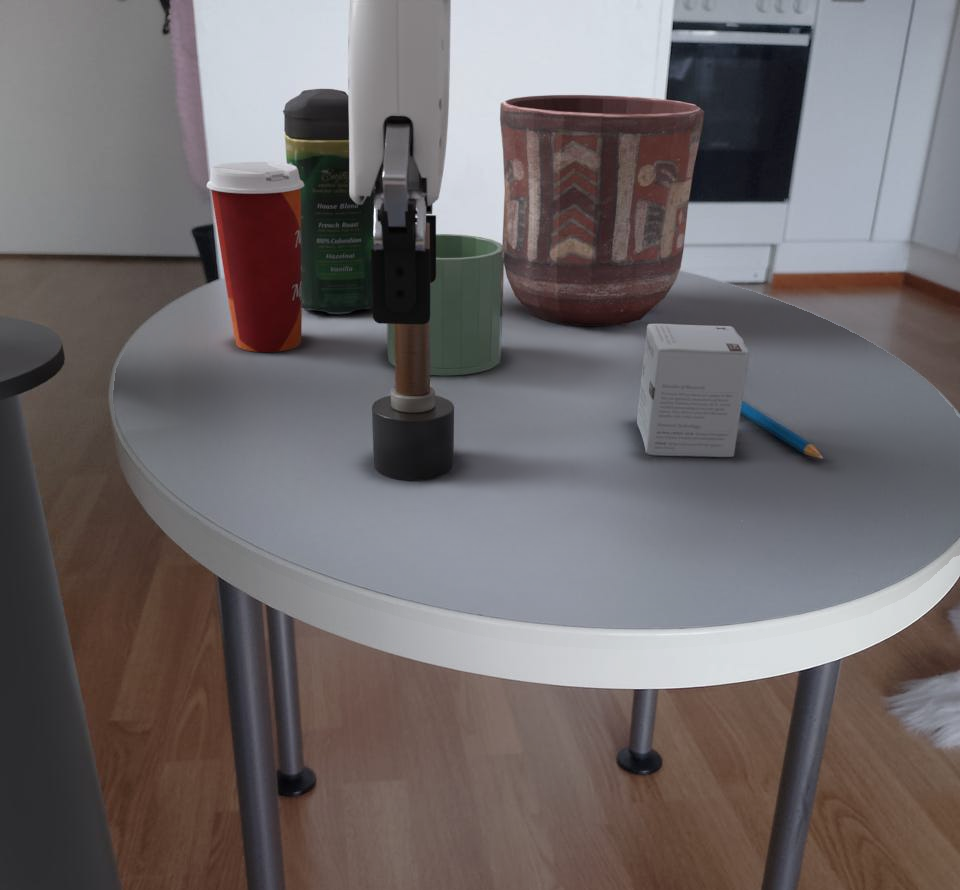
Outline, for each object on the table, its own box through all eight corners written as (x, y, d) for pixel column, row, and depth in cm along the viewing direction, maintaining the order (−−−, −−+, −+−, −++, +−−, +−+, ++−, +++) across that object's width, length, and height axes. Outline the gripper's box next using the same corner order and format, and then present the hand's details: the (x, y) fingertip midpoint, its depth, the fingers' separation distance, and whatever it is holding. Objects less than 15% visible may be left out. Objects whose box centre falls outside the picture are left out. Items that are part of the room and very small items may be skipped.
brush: (393, 486, 68) (387, 234, 60) (361, 457, 72) (352, 218, 64) (467, 472, 70) (470, 228, 62) (433, 445, 74) (432, 212, 66)
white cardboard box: (635, 425, 78) (645, 321, 74) (719, 426, 78) (734, 323, 74) (645, 457, 73) (657, 347, 69) (736, 458, 73) (752, 349, 69)
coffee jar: (383, 315, 102) (378, 94, 92) (298, 318, 100) (283, 94, 91) (371, 290, 110) (365, 84, 100) (292, 292, 108) (278, 84, 99)
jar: (415, 381, 85) (414, 263, 81) (370, 349, 92) (366, 239, 88) (520, 367, 89) (525, 253, 84) (469, 337, 96) (470, 230, 92)
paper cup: (331, 344, 93) (322, 169, 86) (255, 361, 89) (239, 178, 82) (279, 325, 98) (267, 157, 91) (205, 340, 94) (185, 165, 86)
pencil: (702, 383, 86) (703, 374, 85) (827, 462, 72) (829, 453, 72) (693, 384, 86) (694, 375, 85) (817, 464, 72) (819, 454, 72)
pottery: (509, 338, 96) (517, 113, 87) (483, 289, 111) (487, 93, 101) (703, 335, 98) (731, 115, 89) (652, 288, 113) (671, 95, 104)
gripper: (346, -35, 64) (357, 266, 73) (307, -38, 49) (327, 340, 58) (474, -32, 64) (469, 269, 73) (473, -34, 49) (467, 343, 58)
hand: (406, 300), depth 65 cm, fingers open, 9 cm apart
